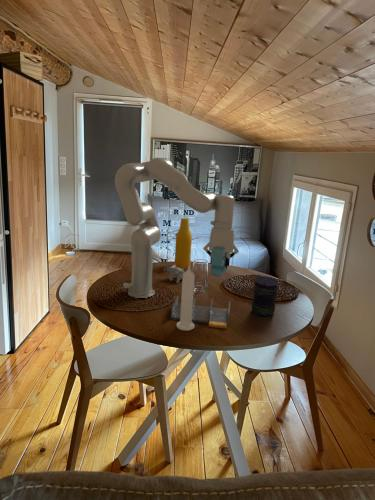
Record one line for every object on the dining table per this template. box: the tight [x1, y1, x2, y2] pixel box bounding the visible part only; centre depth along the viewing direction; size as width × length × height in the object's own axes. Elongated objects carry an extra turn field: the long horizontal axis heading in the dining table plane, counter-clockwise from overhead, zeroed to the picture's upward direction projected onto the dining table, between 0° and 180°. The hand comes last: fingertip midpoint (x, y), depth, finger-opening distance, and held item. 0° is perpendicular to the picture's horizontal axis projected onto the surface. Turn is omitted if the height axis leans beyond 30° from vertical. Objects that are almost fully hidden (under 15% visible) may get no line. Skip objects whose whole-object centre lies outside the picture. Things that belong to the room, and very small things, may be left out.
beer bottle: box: [173, 217, 193, 270], centre depth 208 cm, size 9×9×29 cm
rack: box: [170, 294, 231, 329], centre depth 150 cm, size 23×16×5 cm
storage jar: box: [250, 276, 279, 319], centre depth 155 cm, size 10×10×15 cm
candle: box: [176, 265, 196, 332], centre depth 137 cm, size 7×7×25 cm
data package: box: [210, 247, 228, 278], centre depth 153 cm, size 12×4×12 cm, turn 161°
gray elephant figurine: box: [163, 264, 185, 284], centre depth 189 cm, size 9×12×8 cm
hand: (219, 266), depth 154 cm, fingers closed on data package, 5 cm apart
